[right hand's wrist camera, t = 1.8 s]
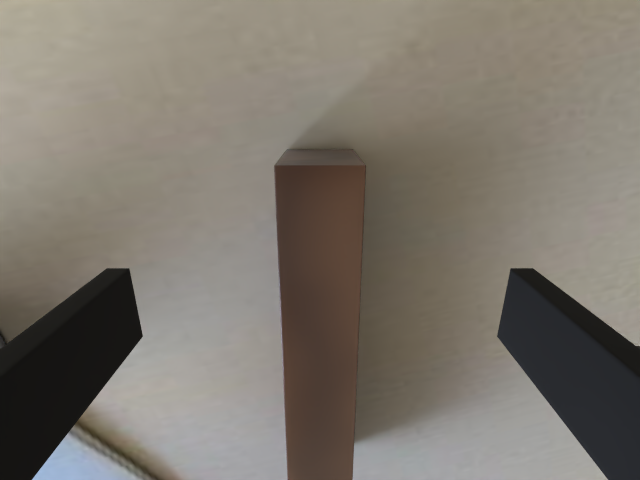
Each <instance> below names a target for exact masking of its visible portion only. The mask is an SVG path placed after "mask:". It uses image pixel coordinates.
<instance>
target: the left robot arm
mask: <svg viewBox="0 0 640 480" xmlns="http://www.w3.org/2000/svg"><path fill="white" fill-rule="evenodd" d="M4 346H5V343H4V341H3V339H2V337H1V336H0V348H2V347H4Z"/></svg>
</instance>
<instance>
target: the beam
mask: <svg viewBox="0 0 640 480" xmlns="http://www.w3.org/2000/svg"><path fill="white" fill-rule="evenodd" d="M274 172H275V195H276V218H277V241H278V265H279V288H280V311H281V334H282V357H283V381H284V404H285V427H286V450H287V473H288V480H352V477H353V454H354V431H355V408H356V384H357V361H358V338H359V315H360V291H361V268H362V245H363V222H364V198H365V175H366V165H365V164H364V163H363V161H362V160H361V159H360V158H359V156H358V155H357V154H356V153H355V151H354V150H353V149H287V150H286V151H285V153H284V154H283V155H282V157H281V158H280V159H279V160H278V162H277V163H276V164H275V165H274Z"/></svg>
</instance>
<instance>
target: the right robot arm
mask: <svg viewBox="0 0 640 480" xmlns="http://www.w3.org/2000/svg"><path fill="white" fill-rule="evenodd" d="M142 337H143V335H142V330H141V325H140V320H139V315H138V310H137V305H136V300H135V295H134V290H133V285H132V280H131V275H130V270H129V268H107V269H106V270H104V271H103V272H102V273H100V274H99V275H98V276H96V277H95V278H94V279H92V280H91V281H90V282H88V283H87V284H86V285H84V286H83V287H82V288H80V289H79V290H78V291H76V292H75V293H74V294H73V295H71V296H70V297H69V298H67V299H66V300H65V301H63V302H62V303H61V304H59V305H58V306H57V307H55V308H54V309H53V310H51V311H50V312H49V313H47V314H46V315H45V316H43V317H42V318H41V319H39V320H38V321H37V322H35V323H34V324H33V325H31V326H30V327H29V328H28V329H26V330H25V331H24V332H22V333H21V334H20V335H18V336H17V337H16V338H14V339H13V340H12V341H10V342H9V343H8V344H6V345H5V346H4V347H2V348H0V480H32V479H33V477H34V476H35V475H36V474H37V472H38V471H39V470H40V468H41V467H42V466H43V464H44V463H45V462H46V461H47V459H48V458H49V457H50V455H51V454H52V453H53V452H54V450H55V449H56V448H57V446H58V445H59V444H60V443H61V441H62V440H63V439H64V437H65V436H66V435H67V433H68V432H69V431H70V430H71V428H72V427H73V426H74V424H75V423H76V422H77V421H78V419H79V418H80V417H81V415H82V414H83V413H84V412H85V410H86V409H87V408H88V406H89V405H90V404H91V403H92V401H93V400H94V399H95V397H96V396H97V395H98V393H99V392H100V391H101V390H102V388H103V387H104V386H105V384H106V383H107V382H108V381H109V379H110V378H111V377H112V375H113V374H114V373H115V372H116V370H117V369H118V368H119V366H120V365H121V364H122V363H123V361H124V360H125V359H126V357H127V356H128V355H129V353H130V352H131V351H132V350H133V348H134V347H135V346H136V344H137V343H138V342H139V341H140V339H141V338H142ZM497 337H498V338H499V339H500V341H501V342H502V343H503V344H504V346H505V347H506V348H507V350H508V351H509V352H510V353H511V355H512V356H513V357H514V359H515V360H516V361H517V363H518V364H519V365H520V366H521V368H522V369H523V370H524V372H525V373H526V374H527V375H528V377H529V378H530V379H531V381H532V382H533V383H534V384H535V386H536V387H537V388H538V390H539V391H540V392H541V393H542V395H543V396H544V397H545V399H546V400H547V401H548V403H549V404H550V405H551V406H552V408H553V409H554V410H555V412H556V413H557V414H558V415H559V417H560V418H561V419H562V421H563V422H564V423H565V424H566V426H567V427H568V428H569V430H570V431H571V432H572V433H573V435H574V436H575V437H576V439H577V440H578V441H579V443H580V444H581V445H582V446H583V448H584V449H585V450H586V452H587V453H588V454H589V455H590V457H591V458H592V459H593V461H594V462H595V463H596V464H597V466H598V467H599V468H600V470H601V471H602V472H603V474H604V475H605V476H606V477H607V479H608V480H640V347H639V346H635V345H634V344H632V343H631V342H630V341H628V340H627V339H626V338H624V337H623V336H622V335H620V334H619V333H618V332H616V331H615V330H614V329H612V328H611V327H610V326H609V325H607V324H606V323H605V322H603V321H602V320H601V319H599V318H598V317H597V316H595V315H594V314H593V313H591V312H590V311H589V310H587V309H586V308H585V307H583V306H582V305H581V304H579V303H578V302H577V301H575V300H574V299H573V298H571V297H570V296H569V295H567V294H566V293H565V292H564V291H562V290H561V289H560V288H558V287H557V286H556V285H554V284H553V283H552V282H550V281H549V280H548V279H546V278H545V277H544V276H542V275H541V274H540V273H538V272H537V271H536V270H534V269H533V268H511V270H510V275H509V280H508V285H507V290H506V295H505V300H504V305H503V310H502V315H501V320H500V325H499V330H498V335H497Z"/></svg>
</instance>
